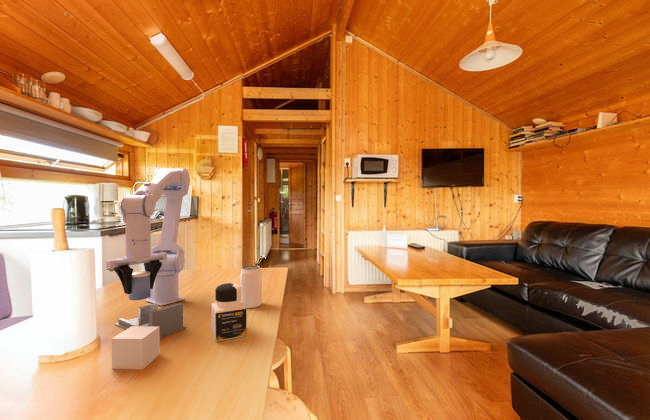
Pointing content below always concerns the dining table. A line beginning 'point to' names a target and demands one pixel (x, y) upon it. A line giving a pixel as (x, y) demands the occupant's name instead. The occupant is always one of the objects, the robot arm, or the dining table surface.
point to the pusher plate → (145, 313)
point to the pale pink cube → (135, 347)
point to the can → (251, 286)
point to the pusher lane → (160, 320)
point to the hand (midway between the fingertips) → (138, 290)
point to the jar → (140, 285)
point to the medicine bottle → (228, 313)
